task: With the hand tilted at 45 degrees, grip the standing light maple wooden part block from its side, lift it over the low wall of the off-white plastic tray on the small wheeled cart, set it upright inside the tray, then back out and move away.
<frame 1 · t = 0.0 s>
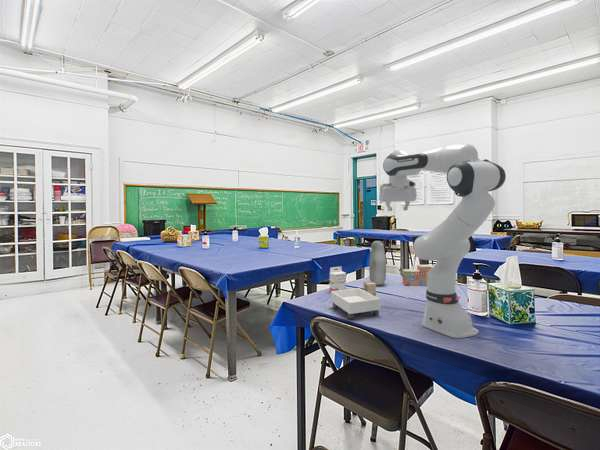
hand: (397, 210, 167), 48 cm above the table, tool pointing down, fingers open, 8 cm apart
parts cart: (354, 303, 158), point 4 cm above the table, slide at 0.0 cm
ink cartridge box: (338, 292, 192), on the table
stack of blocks: (420, 285, 205), on the table
maple part block: (369, 301, 174), on the table
grey bottle: (377, 285, 206), on the table
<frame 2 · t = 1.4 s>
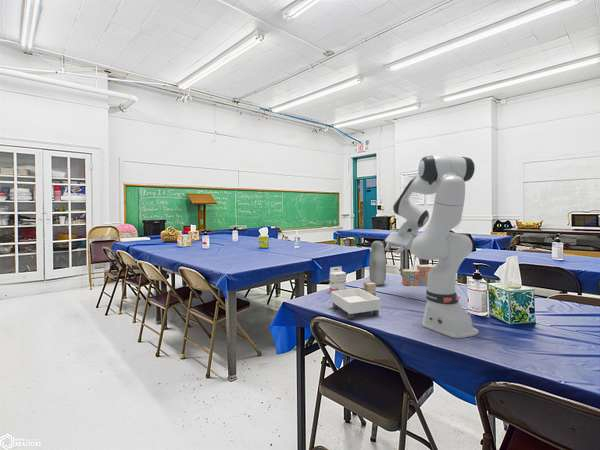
hand: (391, 251, 176), 26 cm above the table, tool tilted 45°, fingers open, 8 cm apart
nothing on the table moved.
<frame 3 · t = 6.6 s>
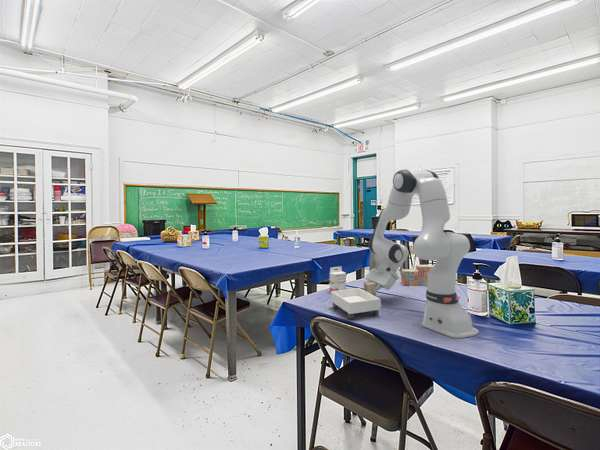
hand: (370, 290, 173), 6 cm above the table, tool tilted 45°, fingers closed on maple part block, 4 cm apart
maple part block: (369, 301, 174), on the table, touching gripper
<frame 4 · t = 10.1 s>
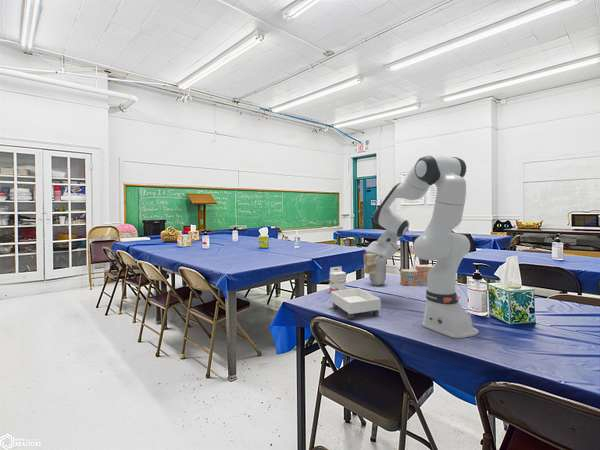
hand: (370, 261, 172), 21 cm above the table, tool tilted 45°, fingers closed on maple part block, 4 cm apart
maple part block: (369, 272, 173), point 15 cm above the table, touching gripper
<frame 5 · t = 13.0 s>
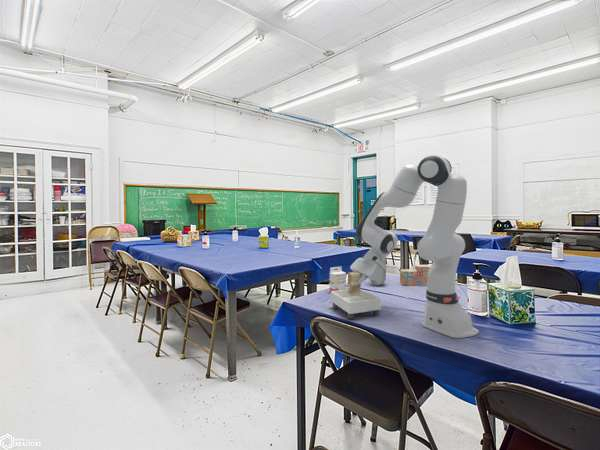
hand: (354, 281, 158), 15 cm above the table, tool tilted 45°, fingers closed on maple part block, 4 cm apart
maple part block: (354, 293, 158), point 9 cm above the table, touching gripper
when the fingers open (12 cm above the table, at t = 13.9 s): maple part block drops 1 cm, resting on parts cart.
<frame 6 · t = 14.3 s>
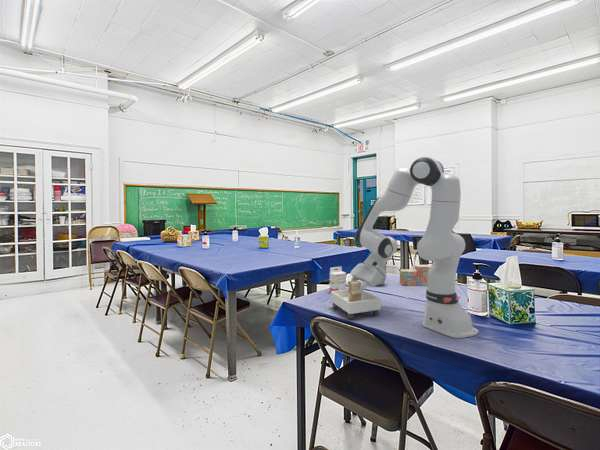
hand: (355, 287, 158), 12 cm above the table, tool tilted 45°, fingers open, 8 cm apart
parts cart: (354, 303, 158), point 4 cm above the table, slide at 0.0 cm, touching maple part block
maple part block: (354, 302, 158), point 5 cm above the table, touching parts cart
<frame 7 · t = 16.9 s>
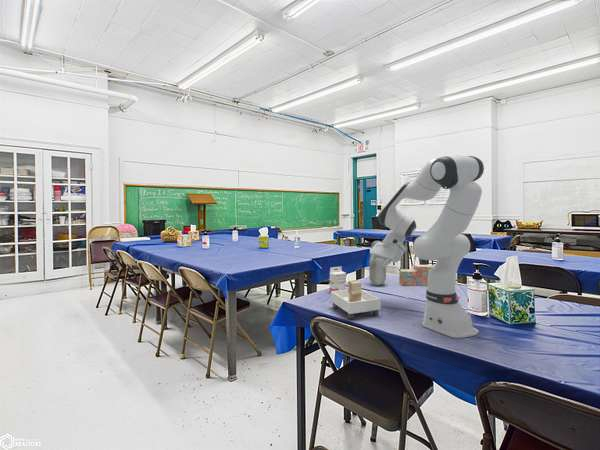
hand: (377, 265, 164), 21 cm above the table, tool tilted 40°, fingers open, 8 cm apart
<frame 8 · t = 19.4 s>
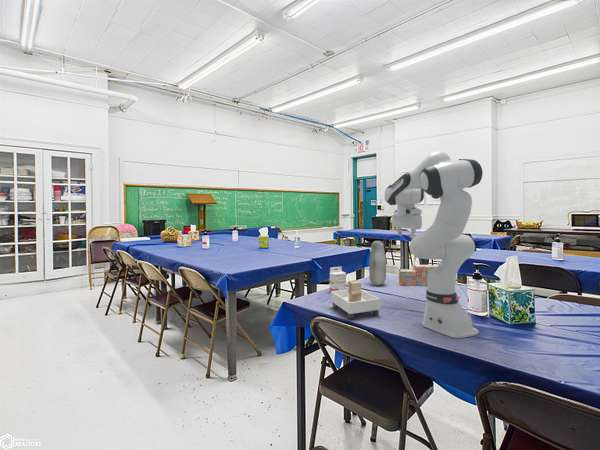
hand: (405, 236, 171), 34 cm above the table, tool pointing down, fingers open, 8 cm apart
at the end: maple part block inside the target area on the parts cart (0.0 cm from its centre), point 4.7 cm above the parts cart's base; maple part block tilted 0°; the gripper is holding nothing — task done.
